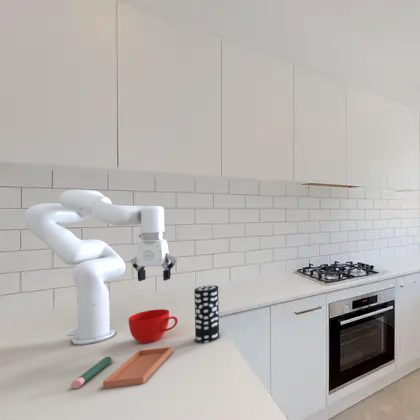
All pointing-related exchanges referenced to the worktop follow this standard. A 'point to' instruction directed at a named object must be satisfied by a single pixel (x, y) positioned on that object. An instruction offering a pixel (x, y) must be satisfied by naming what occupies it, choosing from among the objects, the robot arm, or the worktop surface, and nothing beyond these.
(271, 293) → the worktop surface
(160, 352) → the pencil tray
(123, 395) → the worktop surface
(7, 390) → the worktop surface
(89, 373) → the pencil
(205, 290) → the white-spotted black cylinder
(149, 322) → the ceramic cup
